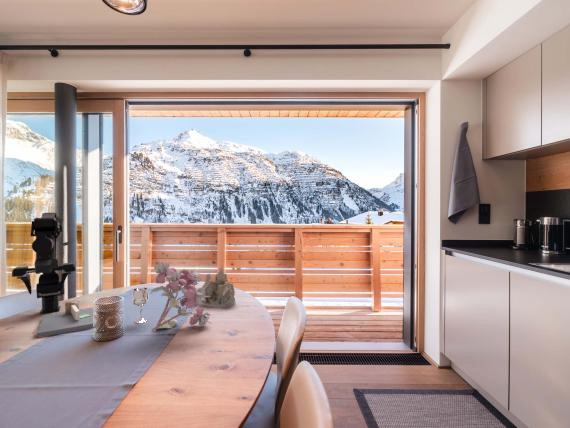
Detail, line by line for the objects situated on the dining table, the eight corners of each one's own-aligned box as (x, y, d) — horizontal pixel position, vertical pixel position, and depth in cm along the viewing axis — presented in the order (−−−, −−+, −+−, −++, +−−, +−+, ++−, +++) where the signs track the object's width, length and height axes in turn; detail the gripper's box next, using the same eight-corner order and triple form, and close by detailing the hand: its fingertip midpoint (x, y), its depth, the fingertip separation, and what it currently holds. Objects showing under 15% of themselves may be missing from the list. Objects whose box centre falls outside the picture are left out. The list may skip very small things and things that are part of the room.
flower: (165, 344, 93) (197, 265, 100) (123, 322, 104) (155, 254, 112) (208, 349, 108) (233, 281, 116) (167, 330, 120) (193, 269, 128)
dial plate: (44, 318, 121) (44, 313, 121) (92, 311, 129) (92, 306, 129) (36, 337, 102) (36, 332, 102) (94, 327, 111) (93, 322, 111)
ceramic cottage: (196, 299, 144) (197, 267, 144) (232, 297, 150) (233, 266, 149) (198, 312, 130) (200, 276, 129) (238, 309, 135) (239, 275, 134)
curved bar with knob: (64, 312, 123) (64, 302, 123) (77, 309, 126) (77, 299, 126) (70, 322, 112) (70, 311, 112) (84, 319, 115) (84, 308, 115)
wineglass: (142, 324, 114) (142, 291, 114) (128, 323, 115) (128, 290, 115) (152, 318, 119) (152, 287, 119) (139, 317, 120) (138, 286, 120)
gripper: (8, 255, 106) (9, 301, 106) (74, 251, 116) (75, 293, 116) (14, 251, 115) (15, 294, 115) (75, 248, 125) (76, 287, 125)
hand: (46, 292), depth 118 cm, fingers open, 9 cm apart
